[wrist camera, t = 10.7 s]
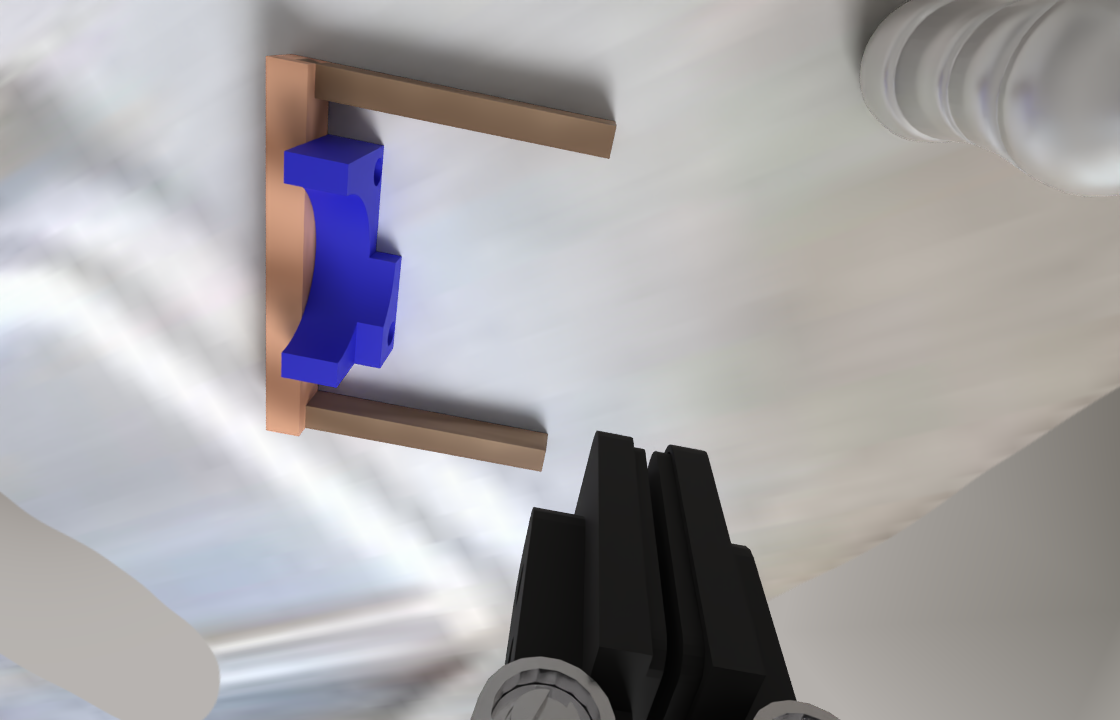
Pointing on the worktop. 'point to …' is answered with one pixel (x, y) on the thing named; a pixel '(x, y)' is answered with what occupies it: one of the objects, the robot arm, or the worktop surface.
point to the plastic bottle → (1006, 83)
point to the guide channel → (291, 243)
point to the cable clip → (342, 263)
